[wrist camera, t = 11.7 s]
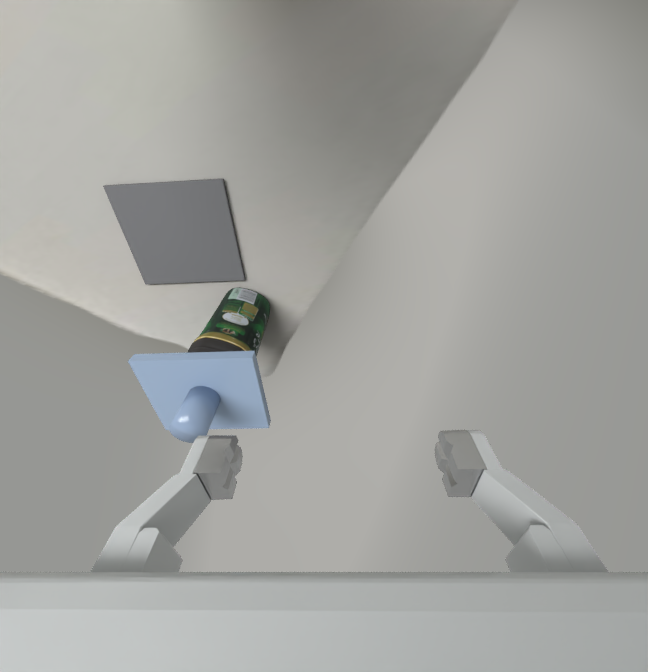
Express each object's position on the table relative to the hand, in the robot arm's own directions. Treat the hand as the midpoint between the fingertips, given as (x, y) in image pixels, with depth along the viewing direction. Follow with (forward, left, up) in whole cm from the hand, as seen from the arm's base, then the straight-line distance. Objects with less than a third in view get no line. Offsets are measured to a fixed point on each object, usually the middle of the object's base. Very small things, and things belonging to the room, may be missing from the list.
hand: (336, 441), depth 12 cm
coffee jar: (+13, -15, -35) cm, 41 cm away
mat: (0, -22, -35) cm, 41 cm away
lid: (+13, -15, -17) cm, 26 cm away
